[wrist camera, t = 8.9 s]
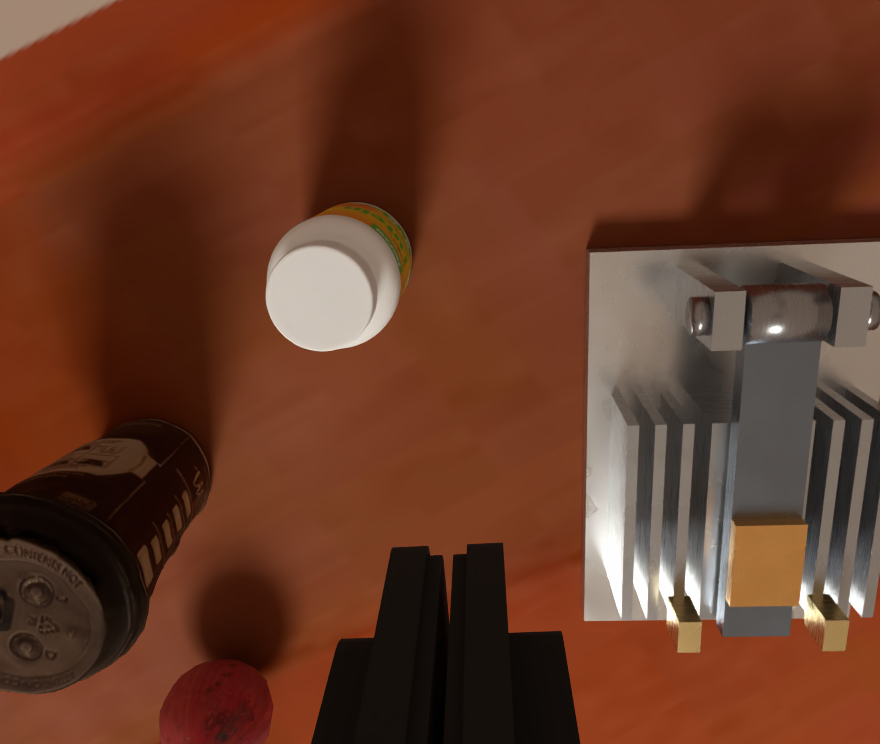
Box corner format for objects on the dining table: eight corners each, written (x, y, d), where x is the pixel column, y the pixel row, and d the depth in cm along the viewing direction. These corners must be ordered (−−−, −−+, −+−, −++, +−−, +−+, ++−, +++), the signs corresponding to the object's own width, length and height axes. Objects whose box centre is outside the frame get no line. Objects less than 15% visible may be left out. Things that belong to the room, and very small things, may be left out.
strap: (735, 280, 31) (755, 291, 29) (808, 277, 31) (835, 288, 29) (711, 614, 36) (727, 646, 34) (775, 613, 36) (795, 645, 34)
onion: (241, 611, 43) (192, 714, 35) (306, 679, 44) (272, 793, 37) (169, 660, 44) (105, 770, 37) (234, 725, 46) (186, 844, 38)
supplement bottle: (435, 245, 36) (422, 283, 27) (372, 332, 38) (340, 397, 28) (342, 177, 35) (296, 193, 26) (282, 269, 37) (218, 314, 28)
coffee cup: (42, 443, 40) (-149, 581, 28) (161, 365, 39) (14, 474, 26) (145, 565, 42) (10, 743, 30) (262, 495, 41) (170, 653, 28)
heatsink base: (586, 248, 36) (613, 276, 29) (887, 237, 35) (989, 263, 28) (581, 607, 42) (602, 701, 35) (838, 604, 41) (912, 699, 34)
